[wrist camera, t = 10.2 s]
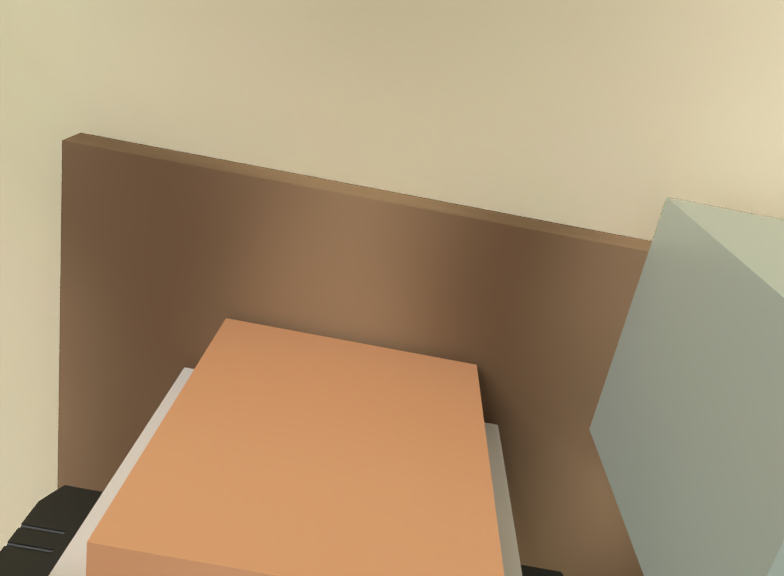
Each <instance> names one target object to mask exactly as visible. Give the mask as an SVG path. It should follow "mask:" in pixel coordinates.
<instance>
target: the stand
mask: <svg viewBox="0 0 784 576" xmlns="http://www.w3.org/2000/svg"><path fill="white" fill-rule="evenodd" d="M651 243H652V241H647V240H642V239H637V238H631V237H626V236H621V235H616V234H610V233H605V232H600V231H595V230H589V229H584V228H579V227H573V226H568V225H563V224H558V223H552V222H547V221H542V220H537V219H531V218H526V217H521V216H516V215H510V214H505V213H500V212H495V211H489V210H484V209H479V208H473V207H468V206H463V205H458V204H452V203H447V202H442V201H437V200H431V199H426V198H421V197H416V196H410V195H405V194H400V193H395V192H389V191H384V190H379V189H373V188H368V187H363V186H358V185H352V184H347V183H342V182H337V181H331V180H326V179H321V178H316V177H310V176H305V175H300V174H295V173H289V172H284V171H279V170H273V169H268V168H263V167H258V166H252V165H247V164H242V163H237V162H231V161H226V160H221V159H216V158H210V157H205V156H200V155H195V154H189V153H184V152H179V151H173V150H168V149H163V148H158V147H152V146H147V145H142V144H137V143H131V142H126V141H121V140H116V139H110V138H105V137H100V136H95V135H89V134H84V133H79V134H77V135H74V136H72V137H69V138H67V139H65V140H62V204H61V279H60V354H59V429H58V489H59V488H61V487H62V486H64V485H67V486H73V487H79V488H84V489H90V490H96V491H101V492H103V491H104V490H105V488H106V487H107V485H108V484H109V482H110V481H111V479H112V478H113V476H114V475H115V473H116V472H117V470H118V468H119V467H120V465H121V464H122V462H123V461H124V459H125V458H126V456H127V455H128V453H129V452H130V450H131V449H132V447H133V445H134V444H135V442H136V441H137V439H138V438H139V436H140V435H141V433H142V432H143V430H144V429H145V427H146V426H147V424H148V422H149V421H150V419H151V418H152V416H153V415H154V413H155V412H156V410H157V409H158V407H159V406H160V404H161V403H162V401H163V400H164V398H165V396H166V395H167V393H168V392H169V390H170V389H171V387H172V386H173V384H174V383H175V381H176V380H177V378H178V377H179V375H180V373H181V372H182V370H183V369H184V367H185V368H191V369H195V367H196V366H197V364H198V362H199V361H200V359H201V358H202V356H203V354H204V353H205V351H206V350H207V348H208V346H209V345H210V343H211V342H212V340H213V338H214V337H215V335H216V334H217V332H218V330H219V329H220V327H221V325H222V324H223V322H224V321H225V319H226V318H228V319H233V320H239V321H244V322H249V323H255V324H260V325H266V326H271V327H276V328H282V329H287V330H293V331H298V332H303V333H309V334H314V335H319V336H325V337H330V338H336V339H341V340H346V341H352V342H357V343H362V344H368V345H373V346H379V347H384V348H389V349H395V350H400V351H406V352H411V353H416V354H422V355H427V356H432V357H438V358H443V359H449V360H454V361H459V362H465V363H470V364H475V365H477V371H478V378H479V386H480V394H481V401H482V409H483V417H484V422H485V423H491V424H496V425H498V428H499V434H500V441H501V447H502V453H503V459H504V465H505V472H506V478H507V484H508V490H509V496H510V502H511V509H512V515H513V521H514V527H515V533H516V539H517V546H518V552H519V558H520V564H521V565H526V566H532V567H537V568H543V569H548V570H554V571H560V572H562V574H563V575H564V576H644V575H643V572H642V570H641V567H640V564H639V561H638V559H637V556H636V553H635V551H634V548H633V545H632V543H631V540H630V537H629V535H628V532H627V529H626V526H625V524H624V521H623V518H622V516H621V513H620V510H619V508H618V505H617V502H616V500H615V497H614V494H613V492H612V489H611V486H610V483H609V481H608V478H607V475H606V473H605V470H604V467H603V465H602V462H601V459H600V457H599V454H598V451H597V448H596V446H595V443H594V440H593V438H592V435H591V432H590V430H589V429H590V426H591V423H592V420H593V417H594V414H595V411H596V408H597V405H598V402H599V399H600V396H601V393H602V390H603V387H604V384H605V381H606V378H607V375H608V372H609V369H610V366H611V363H612V360H613V357H614V354H615V351H616V348H617V345H618V342H619V339H620V336H621V333H622V330H623V327H624V324H625V321H626V318H627V315H628V312H629V309H630V306H631V303H632V300H633V297H634V294H635V291H636V288H637V285H638V282H639V279H640V276H641V273H642V270H643V267H644V264H645V261H646V258H647V255H648V252H649V249H650V246H651Z"/></svg>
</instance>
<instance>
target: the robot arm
mask: <svg viewBox="0 0 784 576" xmlns="http://www.w3.org/2000/svg"><path fill="white" fill-rule="evenodd" d="M193 371H194V369H191V368H185V367H184V369H183V370H182V372H181V373H180V375H179V377H178V378H177V380H176V381H175V383H174V384H173V386H172V387H171V389H170V390H169V392H168V393H167V395H166V396H165V398H164V400H163V401H162V403H161V404H160V406H159V407H158V409H157V410H156V412H155V413H154V415H153V416H152V418H151V419H150V421H149V422H148V424H147V426H146V427H145V429H144V430H143V432H142V433H141V435H140V436H139V438H138V439H137V441H136V442H135V444H134V445H133V447H132V449H131V450H130V452H129V453H128V455H127V456H126V458H125V459H124V461H123V462H122V464H121V465H120V467H119V468H118V470H117V472H116V473H115V475H114V476H113V478H112V479H111V481H110V482H109V484H108V485H107V487H106V488H105V490H104V491H103V492H101V491H96V490H90V489H84V488H79V487H73V486H67V485H64V486H62V487H61V488H59V489H58V490H56V491H54V492H53V493H51V494H50V495H48V496H47V497H45V498H43V499H42V500H40V501H39V502H38V503H37V504H36V505H35V507H34V508H33V509H32V511H31V512H30V513H29V515H28V516H27V517H26V519H25V520H24V521H23V522H22V525H21V527H20V528H18V529H17V530H16V532H15V533H14V534H13V535H12V537H11V538H10V539H9V541H8V544H7V546H4V547H3V548H2V550H1V551H0V576H86V554H87V541H88V539H89V538H90V536H91V535H92V533H93V531H94V530H95V528H96V527H97V525H98V523H99V522H100V520H101V519H102V517H103V515H104V514H105V512H106V511H107V509H108V507H109V506H110V504H111V502H112V501H113V499H114V498H115V496H116V494H117V493H118V491H119V490H120V488H121V486H122V485H123V483H124V482H125V480H126V478H127V477H128V475H129V474H130V472H131V470H132V469H133V467H134V465H135V464H136V462H137V461H138V459H139V457H140V456H141V454H142V453H143V451H144V449H145V448H146V446H147V445H148V443H149V441H150V440H151V438H152V437H153V435H154V433H155V432H156V430H157V428H158V427H159V425H160V424H161V422H162V420H163V419H164V417H165V416H166V414H167V412H168V411H169V409H170V408H171V406H172V404H173V403H174V401H175V400H176V398H177V396H178V395H179V393H180V391H181V390H182V388H183V387H184V385H185V383H186V382H187V380H188V379H189V377H190V375H191V374H192V372H193ZM484 424H485V432H486V439H487V447H488V455H489V462H490V470H491V478H492V485H493V493H494V501H495V508H496V516H497V523H498V531H499V539H500V546H501V554H502V562H503V569H504V576H564V575H563V574H562V572H560V571H554V570H548V569H543V568H537V567H532V566H526V565H521V564H520V558H519V552H518V546H517V539H516V533H515V527H514V521H513V515H512V509H511V502H510V496H509V490H508V484H507V478H506V472H505V465H504V459H503V453H502V447H501V441H500V434H499V428H498V425H496V424H491V423H485V422H484Z"/></svg>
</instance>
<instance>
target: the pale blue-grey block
mask: <svg viewBox="0 0 784 576" xmlns="http://www.w3.org/2000/svg"><path fill="white" fill-rule="evenodd" d="M589 430H590V432H591V435H592V438H593V440H594V443H595V446H596V448H597V451H598V454H599V457H600V459H601V462H602V465H603V467H604V470H605V473H606V475H607V478H608V481H609V483H610V486H611V489H612V492H613V494H614V497H615V500H616V502H617V505H618V508H619V510H620V513H621V516H622V518H623V521H624V524H625V526H626V529H627V532H628V535H629V537H630V540H631V543H632V545H633V548H634V551H635V553H636V556H637V559H638V561H639V564H640V567H641V570H642V572H643V575H644V576H784V220H783V219H778V218H772V217H767V216H762V215H757V214H752V213H746V212H741V211H736V210H731V209H726V208H720V207H715V206H710V205H705V204H699V203H694V202H689V201H684V200H679V199H673V198H668V197H667V198H666V201H665V204H664V207H663V210H662V213H661V216H660V219H659V222H658V225H657V228H656V231H655V234H654V237H653V240H652V243H651V246H650V249H649V252H648V255H647V258H646V261H645V264H644V267H643V270H642V273H641V276H640V279H639V282H638V285H637V288H636V291H635V294H634V297H633V300H632V303H631V306H630V309H629V312H628V315H627V318H626V321H625V324H624V327H623V330H622V333H621V336H620V339H619V342H618V345H617V348H616V351H615V354H614V357H613V360H612V363H611V366H610V369H609V372H608V375H607V378H606V381H605V384H604V387H603V390H602V393H601V396H600V399H599V402H598V405H597V408H596V411H595V414H594V417H593V420H592V423H591V426H590V429H589Z"/></svg>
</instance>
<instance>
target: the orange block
mask: <svg viewBox="0 0 784 576" xmlns="http://www.w3.org/2000/svg"><path fill="white" fill-rule="evenodd" d="M86 576H504V569H503V562H502V554H501V546H500V539H499V531H498V523H497V516H496V508H495V501H494V493H493V485H492V478H491V470H490V462H489V455H488V447H487V439H486V432H485V424H484V417H483V409H482V401H481V394H480V386H479V378H478V371H477V365H475V364H470V363H465V362H459V361H454V360H449V359H443V358H438V357H432V356H427V355H422V354H416V353H411V352H406V351H400V350H395V349H389V348H384V347H379V346H373V345H368V344H362V343H357V342H352V341H346V340H341V339H336V338H330V337H325V336H319V335H314V334H309V333H303V332H298V331H293V330H287V329H282V328H276V327H271V326H266V325H260V324H255V323H249V322H244V321H239V320H233V319H228V318H226V319H225V321H224V322H223V324H222V325H221V327H220V329H219V330H218V332H217V334H216V335H215V337H214V338H213V340H212V342H211V343H210V345H209V346H208V348H207V350H206V351H205V353H204V354H203V356H202V358H201V359H200V361H199V362H198V364H197V366H196V367H195V369H194V371H193V372H192V374H191V375H190V377H189V379H188V380H187V382H186V383H185V385H184V387H183V388H182V390H181V391H180V393H179V395H178V396H177V398H176V400H175V401H174V403H173V404H172V406H171V408H170V409H169V411H168V412H167V414H166V416H165V417H164V419H163V420H162V422H161V424H160V425H159V427H158V428H157V430H156V432H155V433H154V435H153V437H152V438H151V440H150V441H149V443H148V445H147V446H146V448H145V449H144V451H143V453H142V454H141V456H140V457H139V459H138V461H137V462H136V464H135V465H134V467H133V469H132V470H131V472H130V474H129V475H128V477H127V478H126V480H125V482H124V483H123V485H122V486H121V488H120V490H119V491H118V493H117V494H116V496H115V498H114V499H113V501H112V502H111V504H110V506H109V507H108V509H107V511H106V512H105V514H104V515H103V517H102V519H101V520H100V522H99V523H98V525H97V527H96V528H95V530H94V531H93V533H92V535H91V536H90V538H89V539H88V541H87V554H86Z"/></svg>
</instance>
